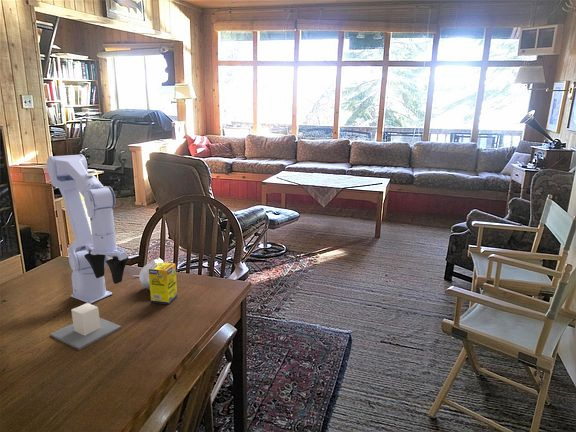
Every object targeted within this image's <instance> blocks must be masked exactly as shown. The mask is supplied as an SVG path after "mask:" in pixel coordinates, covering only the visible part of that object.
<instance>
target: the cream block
mask: <svg viewBox="0 0 576 432" xmlns="http://www.w3.org/2000/svg"><path fill="white" fill-rule="evenodd" d="M71 317H72V324H73V326H74V331H76V332H78V333H80V334H82V335H84V336H85V335H87V334H89V333H91V332H94V331H96V330H98V329H100V328H101V327H100V318H101V317H100V310H99V307H98V306H97V305H94V304H93V303H91V304H89V303H86V302H85V303H84V304H81V305H80V306H79V305H78V306H77V307H74V308H72V309H71ZM99 317H100V318H99Z"/></svg>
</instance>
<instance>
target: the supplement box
mask: <svg viewBox="0 0 576 432" xmlns="http://www.w3.org/2000/svg"><path fill="white" fill-rule="evenodd" d="M176 268H177V265H176V263H172V262H165V261H164V262H158V263H157V264H155V265H154V266H152V267H151V268H149V281H150V290H149V292H150V294H149V295H150V303H154V304H163V305H169V304H171V303H172V302H173V301H174V300H175V299H176V298H177V297H178V285H177V284H178V282H177V269H176Z"/></svg>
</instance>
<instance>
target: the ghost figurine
mask: <svg viewBox="0 0 576 432" xmlns="http://www.w3.org/2000/svg"><path fill="white" fill-rule="evenodd" d="M158 262H164V263H165V261H164V260H163V259H161V258H155V259H153V260H152V262H149V263H147V264H145V265H144V266H143V267H142V268H141V270H140V272H139V276H138V277H139V282H140V284H141V285H142V287H144V288H145V289H146V290H149V291H150V281H149V268H151V267H152V266H154V265H155V264H157V263H158Z"/></svg>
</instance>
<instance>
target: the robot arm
mask: <svg viewBox="0 0 576 432" xmlns="http://www.w3.org/2000/svg"><path fill="white" fill-rule="evenodd" d="M46 168H47V173H48V176H49V180H50V183H51V184H52V186H53V187H54V188H57V189H58V190H59V192H60V194H61V196H62V199H63V202H64V206H65V210H66V213H67V217H68V220H69V224H70V227H71V230H72V234H73V238H74V241H73V242H72V243H71V244H70V245H69V246H68V248H67V255H68V262H69V266H70V268H71V270H72V273H71V277H70V278H71V286H72V292H73V293H72V294H70V297H71V298H74V299H76V300H79V301H81V302H84V303H85V304H86V303H89V304H93V303H95V302H98V301H100V300H102V299H105V298H106V297H109V296H111V295H113V292H111V291H109V290H107V289H106V288H107V287H106V280H105V268H106V266H108V267H109V270H110V273H111V279H112V282H113V284H115V285H116V284H119V283H122V282H123V276H124V272H125V271H124V270H125V269H126V265H127V263H128V261H129V256H127V255H128V254H127V251H125V250H123V249H122V248H121V247H119V246H118V245H117V237H116V228H115V219H114V208H115V207H116V202H117V201H116V195H115V192H114V190H113V188H112V187H111V186H106V185H105V186H104V184H102V183H101V181H100V180H99V179H98V178H97V176H95V175H94V174H92V173H89V172H88V161H87V158H86V157H85V155H83V154H82V153H80V154H69V155H55V156H53V155H49V156H48V158H47V160H46ZM81 196H82V197H83V200H84V204H85V205H84V204H83V200H82V197H81ZM84 206H85V207H84ZM85 208H86V211H85ZM86 213H87V214H86ZM87 216H88V217H89V219H90V220H89V221H90V223H89V221H88V218H87ZM109 257H112V258H109Z"/></svg>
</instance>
